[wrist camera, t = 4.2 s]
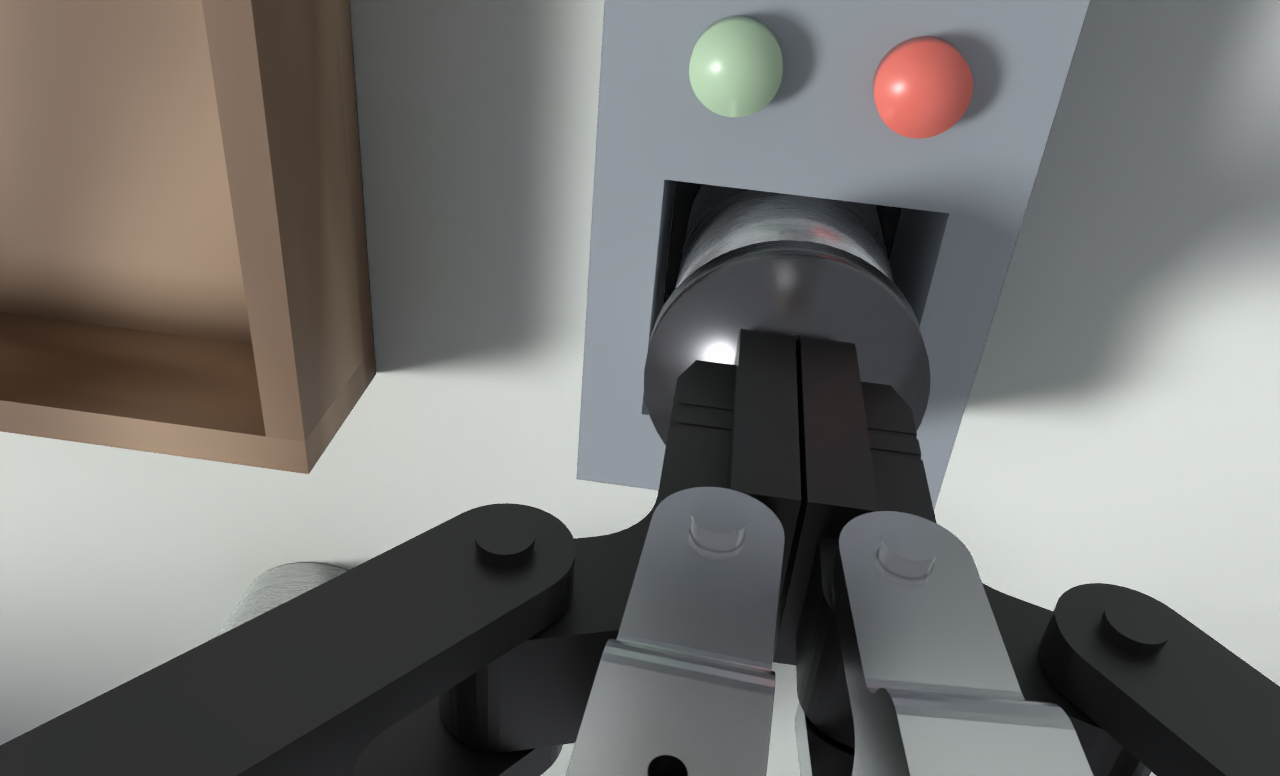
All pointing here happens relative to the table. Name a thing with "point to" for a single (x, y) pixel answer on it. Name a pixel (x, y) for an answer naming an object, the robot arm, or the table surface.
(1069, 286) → the table surface
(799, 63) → the tester
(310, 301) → the bin
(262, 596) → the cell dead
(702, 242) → the plunger
